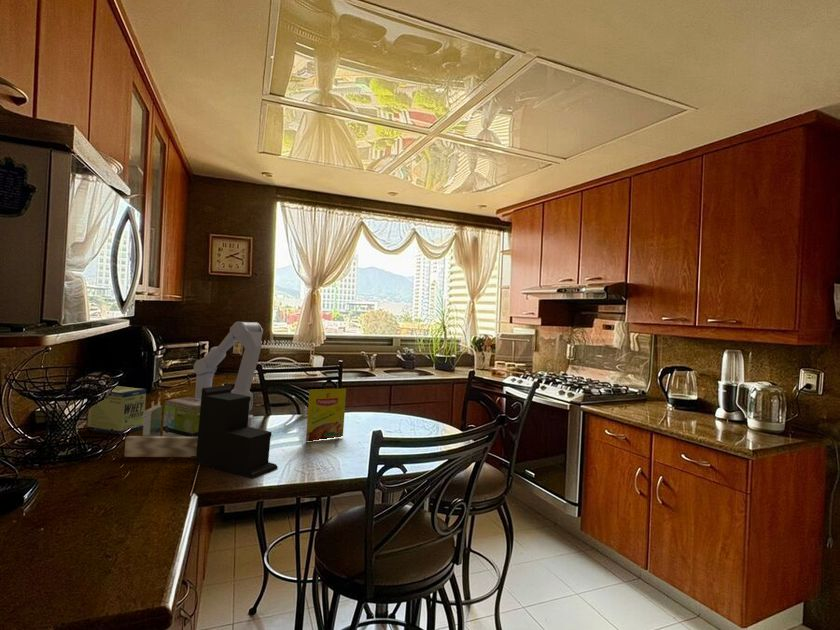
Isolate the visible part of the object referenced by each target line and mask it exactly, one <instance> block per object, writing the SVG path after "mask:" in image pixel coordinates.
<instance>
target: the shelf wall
mask: <svg viewBox="0 0 840 630" xmlns="http://www.w3.org/2000/svg"><path fill="white" fill-rule="evenodd" d="M197 440H198V437H181V436H163V435H160V436H143V435H128V436H126V437H125V443H124V444H125V445H124V457H125V458H129V457H130V458H135V457H136V458H142V457H143V458H192V457H191V456H196V452H197Z"/></svg>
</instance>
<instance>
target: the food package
mask: <svg viewBox="0 0 840 630" xmlns="http://www.w3.org/2000/svg"><path fill="white" fill-rule="evenodd" d="M308 391H309V393H308V405H307V407H308V408H307V419H306V420H307V421H306V435H305V436H306V437H305V442H306V441H313V440H319V439H327V438H334V437H341V436H343V437H344V426H345V425H344V423H345V410H346V397H347V396H346V395H347V388H323V389H319V388H318V389H309V390H308Z"/></svg>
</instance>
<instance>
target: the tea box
mask: <svg viewBox="0 0 840 630" xmlns="http://www.w3.org/2000/svg"><path fill="white" fill-rule="evenodd" d="M200 407H201V399H197V398H195V397H191V396H185V397H180V398H173V399H167V400H165V401H164V409H163V411H164V412H163V424H162V425H163V426H162V436H181V437H198V429H199V418H200Z"/></svg>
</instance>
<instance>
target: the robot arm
mask: <svg viewBox="0 0 840 630" xmlns="http://www.w3.org/2000/svg"><path fill="white" fill-rule="evenodd" d="M263 334H264V329H263V328H262V326H261V324H260V323H259V322H257V321H252V322H250V321H236V322H234V323H233V324H232V326H230V327H229V332H228V333H227V335H226V336H225V337H224V339H223V340H222V341H221V343H220V344H219V345H218V346H213V347H211V348H210V349H209V351H208V353H207V354H206V355H204V356H203V358H201V359H196V361H195V362H194V364H193V372H194V373H195V375H196V379H195V392H194V398H197V399H201V395H202V388H207V387H213V379H214V377H215V373H216V372H217V369H218V365H219V364H221V362H222V361H223V360H224V359H225V357H226V356H227V351H229V350H230V349H231V348H232V347H233V346H234V345H235V344H236V343H237V342H238V343H239V344H240V345H241V346H243V349H244V351H243V354H242V357H241V358H242V359H241V361H240V365H239V369H238V374H237V376H236V380H235V383H234V387H233V389H231V393H234V394H240V395H245V396H250V397H251V399H250V402H249V412H250V411H251V410H252V409H253V407H254V406H253V405H254V401H253V398H254V394H253V392H251V391H250V390H251V388H252V387H251V386H252V384H253V383H252V382H253V379H254V375H255V373H256V368H257V365H258V361H259V357H260V354H261V349H262V338H263ZM248 427H251V428H254V415H253V414H249V416H248Z"/></svg>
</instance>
